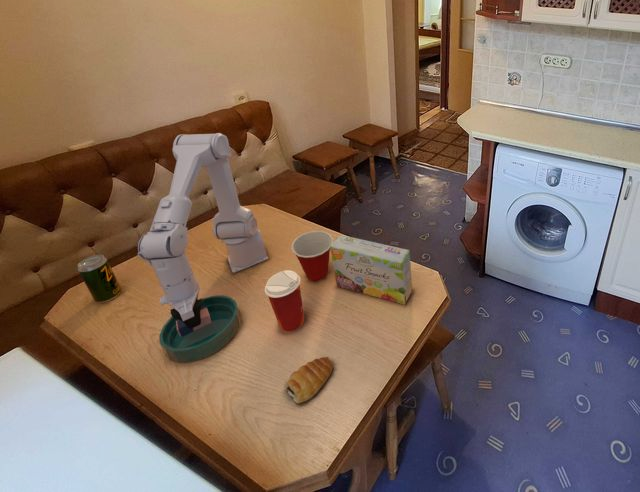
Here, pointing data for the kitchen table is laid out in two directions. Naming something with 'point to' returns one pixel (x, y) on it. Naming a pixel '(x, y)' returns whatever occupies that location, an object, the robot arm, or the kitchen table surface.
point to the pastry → (309, 379)
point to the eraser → (185, 330)
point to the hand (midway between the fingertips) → (194, 320)
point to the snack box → (372, 268)
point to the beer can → (99, 278)
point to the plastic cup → (313, 253)
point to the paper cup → (286, 299)
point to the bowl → (202, 331)
